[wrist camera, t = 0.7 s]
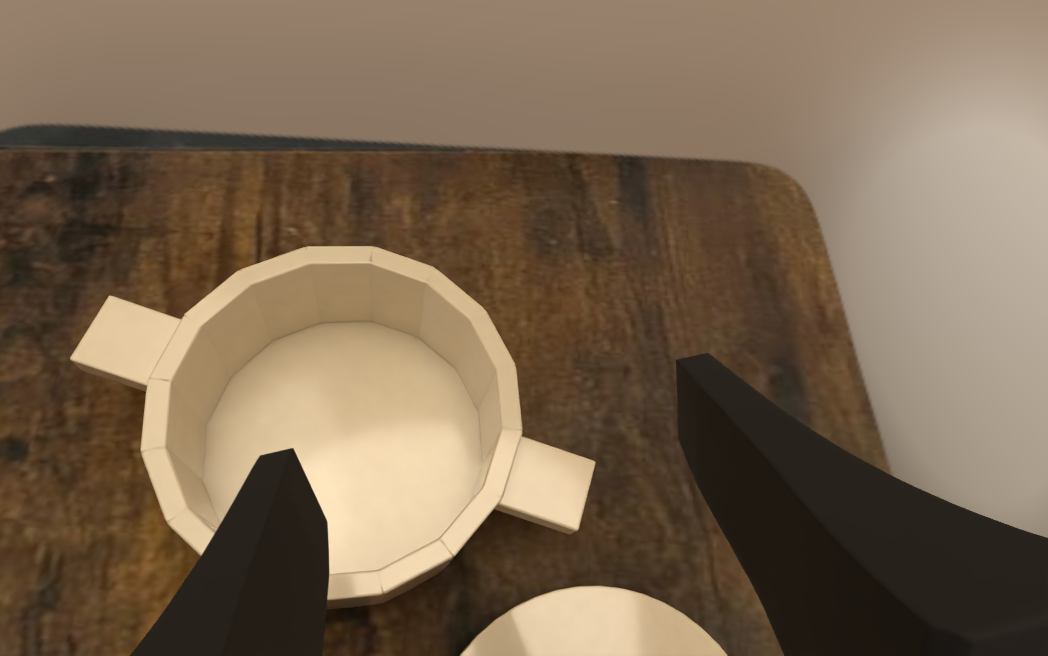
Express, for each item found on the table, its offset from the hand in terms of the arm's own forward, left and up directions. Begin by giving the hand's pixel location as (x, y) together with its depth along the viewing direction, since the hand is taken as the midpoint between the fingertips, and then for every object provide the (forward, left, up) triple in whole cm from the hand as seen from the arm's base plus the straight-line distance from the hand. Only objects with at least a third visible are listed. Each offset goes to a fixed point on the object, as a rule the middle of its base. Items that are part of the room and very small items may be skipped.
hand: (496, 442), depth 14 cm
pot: (+2, +4, -15) cm, 16 cm away
